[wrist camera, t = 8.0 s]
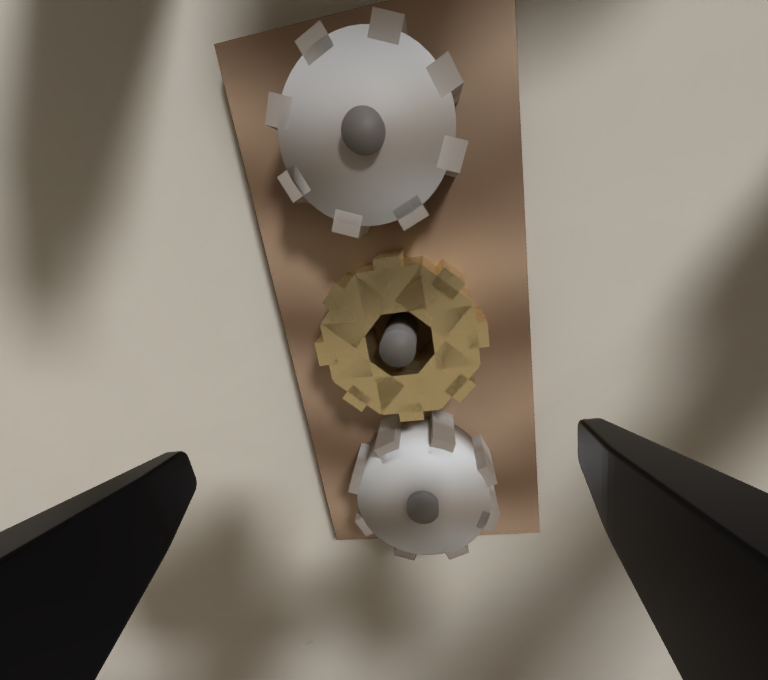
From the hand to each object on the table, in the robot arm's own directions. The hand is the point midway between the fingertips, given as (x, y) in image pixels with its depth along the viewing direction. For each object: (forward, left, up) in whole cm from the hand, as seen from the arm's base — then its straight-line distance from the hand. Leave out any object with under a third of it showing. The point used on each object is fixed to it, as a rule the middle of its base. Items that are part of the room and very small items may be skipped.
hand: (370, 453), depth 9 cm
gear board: (0, 0, -11) cm, 11 cm away
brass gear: (0, 0, -10) cm, 10 cm away
